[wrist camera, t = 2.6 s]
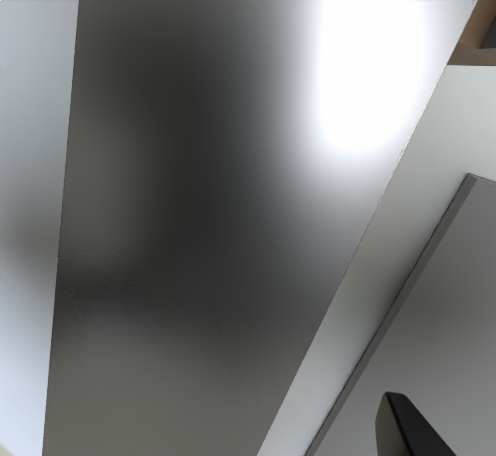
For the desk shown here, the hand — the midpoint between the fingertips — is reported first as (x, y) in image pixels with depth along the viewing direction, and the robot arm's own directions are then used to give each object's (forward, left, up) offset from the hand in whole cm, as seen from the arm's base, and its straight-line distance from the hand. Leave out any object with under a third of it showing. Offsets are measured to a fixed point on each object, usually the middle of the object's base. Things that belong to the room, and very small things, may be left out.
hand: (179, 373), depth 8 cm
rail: (0, 0, 0) cm, 0 cm away
